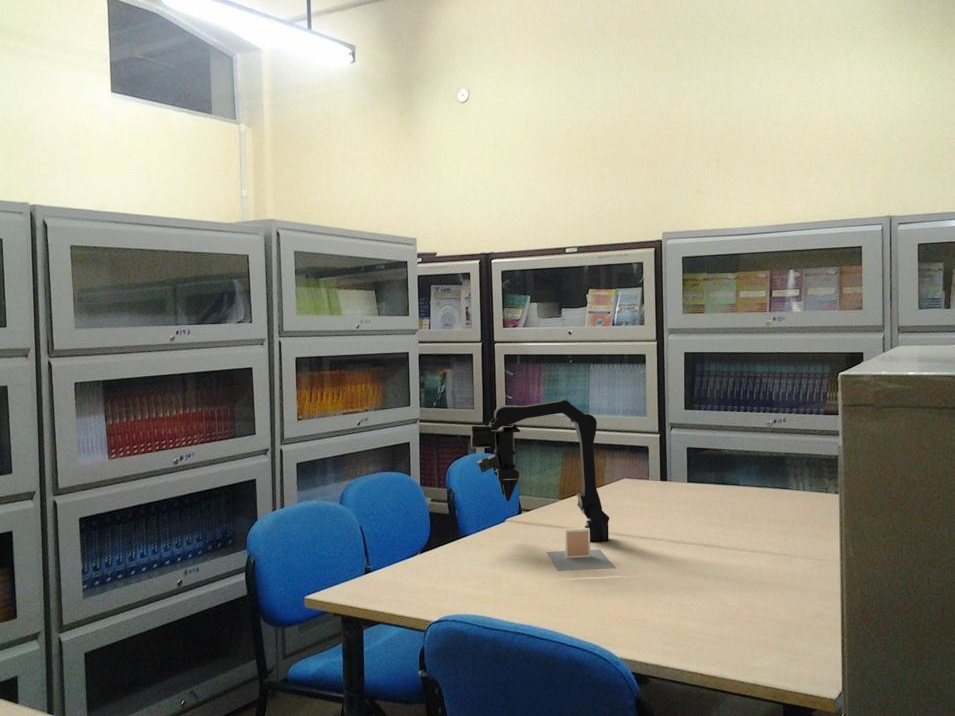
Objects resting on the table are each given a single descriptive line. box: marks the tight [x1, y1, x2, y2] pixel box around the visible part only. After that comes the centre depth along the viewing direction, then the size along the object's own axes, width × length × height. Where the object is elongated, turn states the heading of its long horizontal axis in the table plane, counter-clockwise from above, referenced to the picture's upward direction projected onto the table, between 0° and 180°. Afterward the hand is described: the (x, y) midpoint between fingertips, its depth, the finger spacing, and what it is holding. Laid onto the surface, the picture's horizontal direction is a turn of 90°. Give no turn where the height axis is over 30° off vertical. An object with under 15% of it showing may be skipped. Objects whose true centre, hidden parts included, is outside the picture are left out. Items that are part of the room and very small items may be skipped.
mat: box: [545, 549, 617, 572], centre depth 244 cm, size 16×20×1 cm
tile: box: [564, 527, 591, 558], centre depth 247 cm, size 7×2×8 cm, turn 95°
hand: (505, 497), depth 264 cm, fingers open, 9 cm apart
